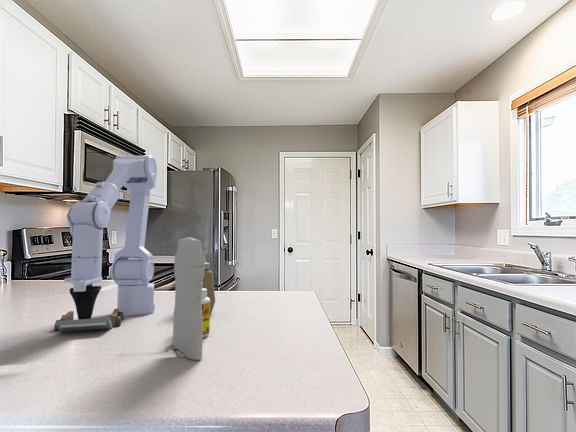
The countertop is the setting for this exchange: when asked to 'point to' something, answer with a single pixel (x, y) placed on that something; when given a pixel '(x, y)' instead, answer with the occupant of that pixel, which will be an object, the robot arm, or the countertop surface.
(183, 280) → the tall pale column
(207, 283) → the squeeze bottle
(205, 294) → the supplement bottle
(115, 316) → the cart bed
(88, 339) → the countertop surface
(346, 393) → the countertop surface
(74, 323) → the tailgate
